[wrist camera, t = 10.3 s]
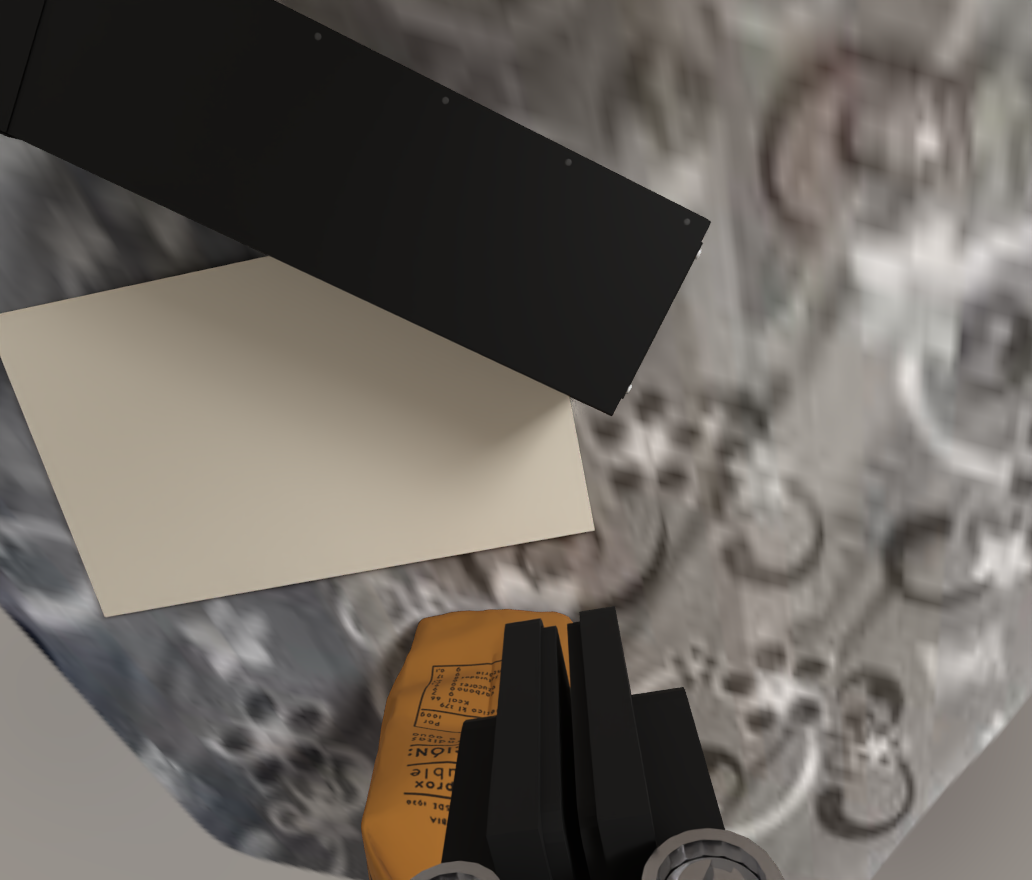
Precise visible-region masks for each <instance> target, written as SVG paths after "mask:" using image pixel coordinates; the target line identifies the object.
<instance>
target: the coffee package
mask: <svg viewBox="0 0 1032 880" xmlns="http://www.w3.org/2000/svg"><path fill="white" fill-rule="evenodd" d="M538 618H541V619H542V622H543V625H544V627H549V626H557V629H558V633H559V638H560V642H561V647H562V652H563V656H564V661H565V666H566V670H567V675H568V680H569V684H570V671H569V653H568V635H567V624H568V623H573V622H572V621H571V619H570V618H569V617H567V616H565V615H563V614H560V613H557V612H532V611H523V610H512V609H502V610H484V611H458V612H450V613H447V614H443V615H438V616H433V617H428V618H424V619H422V620H421V621H420V622H419V624H418V627H417V630H416V633H415V637H414V641H413V643H412V647H411V650H410V652H409V654H408V655H407V658H406V660H405V663H404V665H403V667H402V669H401V671H400V673H399V675H398V676H397V678H396V680H395V682H394V685H393V687H392V689H391V691H390V694H389V696H388V698H387V701H386V706H385V711H384V716H383V721H382V727H381V734H380V741H379V748H378V753H377V757H376V760H375V765H374V769H373V774H372V779H371V783H370V788H369V792H368V797H367V801H366V806H365V810H364V814H363V818H362V822H361V830H362V838H363V843H364V849H365V853H366V858H367V867H368V874H369V880H410V879H411V878H413V877H414V876H416V875H417V874H419V873H420V872H421V871H423V870H426V869H428V868H431V867H433V866H436V865H438V864H441V860H442V853H443V847H444V840H445V833H446V827H447V820H448V814H449V807H450V801H451V794H452V787H453V781H454V774H455V768H456V761H457V755H458V748H459V741H460V735H461V729H462V725H463V722H464V721H465V720H468V719H474V718H481V717H488V716H494V715H497V707H498V695H499V684H500V673H501V662H502V650H503V639H504V628H505V624H507V623H513V622H519V621H526V620H532V619H538Z"/></svg>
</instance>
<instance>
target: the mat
mask: <svg viewBox="0 0 1032 880" xmlns="http://www.w3.org/2000/svg"><path fill="white" fill-rule="evenodd" d="M0 357H1V359H2V362H3V364H4V367H5V369H6V372H7V374H8V377H9V379H10V382H11V384H12V387H13V389H14V392H15V394H16V397H17V399H18V402H19V404H20V407H21V409H22V412H23V414H24V417H25V419H26V422H27V424H28V427H29V429H30V432H31V434H32V437H33V439H34V442H35V444H36V447H37V449H38V452H39V454H40V457H41V459H42V461H43V464H44V466H45V469H46V471H47V474H48V476H49V479H50V481H51V484H52V486H53V489H54V491H55V494H56V496H57V499H58V501H59V504H60V506H61V509H62V511H63V514H64V516H65V519H66V521H67V524H68V526H69V529H70V531H71V534H72V536H73V539H74V541H75V544H76V546H77V549H78V551H79V554H80V556H81V559H82V561H83V564H84V566H85V569H86V571H87V574H88V576H89V579H90V581H91V584H92V586H93V589H94V591H95V594H96V596H97V599H98V601H99V604H100V606H101V608H102V611H103V613H104V616H105V617H110V616H115V615H121V614H127V613H132V612H138V611H144V610H149V609H155V608H160V607H166V606H172V605H177V604H183V603H189V602H194V601H200V600H205V599H211V598H217V597H222V596H228V595H234V594H239V593H245V592H250V591H256V590H262V589H267V588H273V587H279V586H284V585H290V584H296V583H301V582H307V581H312V580H318V579H324V578H329V577H335V576H341V575H346V574H352V573H357V572H363V571H369V570H374V569H380V568H386V567H391V566H397V565H402V564H408V563H414V562H419V561H425V560H431V559H436V558H442V557H448V556H453V555H459V554H464V553H470V552H476V551H481V550H487V549H493V548H498V547H504V546H509V545H515V544H521V543H526V542H532V541H538V540H543V539H549V538H555V537H560V536H566V535H571V534H577V533H583V532H588V531H594V530H595V529H594V524H593V519H592V513H591V508H590V503H589V498H588V492H587V487H586V482H585V476H584V471H583V466H582V461H581V455H580V450H579V445H578V439H577V434H576V429H575V424H574V418H573V413H572V408H571V402H570V397H569V396H567V395H565V394H563V393H561V392H559V391H557V390H555V389H552V388H550V387H548V386H546V385H544V384H542V383H540V382H537V381H535V380H533V379H531V378H529V377H527V376H525V375H522V374H520V373H518V372H516V371H514V370H512V369H510V368H508V367H505V366H503V365H501V364H499V363H497V362H495V361H493V360H490V359H488V358H486V357H484V356H482V355H480V354H478V353H475V352H473V351H471V350H469V349H467V348H465V347H463V346H461V345H458V344H456V343H454V342H452V341H450V340H448V339H446V338H443V337H441V336H439V335H437V334H435V333H433V332H431V331H428V330H426V329H424V328H422V327H420V326H418V325H416V324H414V323H411V322H409V321H407V320H405V319H403V318H401V317H399V316H396V315H394V314H392V313H390V312H388V311H386V310H384V309H381V308H379V307H377V306H375V305H373V304H371V303H369V302H367V301H364V300H362V299H360V298H358V297H356V296H354V295H352V294H349V293H347V292H345V291H343V290H341V289H339V288H337V287H334V286H332V285H330V284H328V283H326V282H324V281H322V280H320V279H317V278H315V277H313V276H311V275H309V274H307V273H305V272H302V271H300V270H298V269H296V268H294V267H292V266H290V265H287V264H285V263H283V262H281V261H279V260H277V259H275V258H273V257H270V256H266V257H262V258H257V259H252V260H248V261H243V262H238V263H234V264H229V265H224V266H220V267H215V268H210V269H206V270H201V271H196V272H192V273H187V274H182V275H178V276H173V277H168V278H164V279H159V280H154V281H150V282H145V283H140V284H136V285H131V286H127V287H122V288H117V289H113V290H108V291H103V292H99V293H94V294H89V295H85V296H80V297H75V298H71V299H66V300H61V301H57V302H52V303H47V304H43V305H38V306H33V307H29V308H24V309H19V310H15V311H10V312H5V313H1V314H0Z"/></svg>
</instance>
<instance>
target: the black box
mask: <svg viewBox="0 0 1032 880" xmlns="http://www.w3.org/2000/svg"><path fill="white" fill-rule="evenodd" d="M0 134H2V135H5V136H7V137H11V138H15V139H19V140H23V141H25V142H27V143H29V144H31V145H33V146H35V147H37V148H40V149H42V150H44V151H46V152H48V153H50V154H52V155H55V156H57V157H59V158H61V159H63V160H65V161H67V162H70V163H72V164H74V165H76V166H78V167H80V168H82V169H84V170H87V171H89V172H91V173H93V174H95V175H97V176H99V177H102V178H104V179H106V180H108V181H110V182H112V183H114V184H117V185H119V186H121V187H123V188H125V189H127V190H129V191H131V192H134V193H136V194H138V195H140V196H142V197H144V198H146V199H149V200H151V201H153V202H155V203H157V204H159V205H161V206H164V207H166V208H168V209H170V210H172V211H174V212H176V213H178V214H181V215H183V216H185V217H187V218H189V219H191V220H193V221H196V222H198V223H200V224H202V225H204V226H206V227H208V228H211V229H213V230H215V231H217V232H219V233H221V234H223V235H226V236H228V237H230V238H232V239H234V240H236V241H238V242H240V243H243V244H245V245H247V246H249V247H251V248H253V249H255V250H258V251H260V252H262V253H264V254H266V255H268V256H270V257H273V258H275V259H277V260H279V261H281V262H283V263H285V264H287V265H290V266H292V267H294V268H296V269H298V270H300V271H302V272H305V273H307V274H309V275H311V276H313V277H315V278H317V279H320V280H322V281H324V282H326V283H328V284H330V285H332V286H334V287H337V288H339V289H341V290H343V291H345V292H347V293H349V294H352V295H354V296H356V297H358V298H360V299H362V300H364V301H367V302H369V303H371V304H373V305H375V306H377V307H379V308H381V309H384V310H386V311H388V312H390V313H392V314H394V315H396V316H399V317H401V318H403V319H405V320H407V321H409V322H411V323H414V324H416V325H418V326H420V327H422V328H424V329H426V330H428V331H431V332H433V333H435V334H437V335H439V336H441V337H443V338H446V339H448V340H450V341H452V342H454V343H456V344H458V345H461V346H463V347H465V348H467V349H469V350H471V351H473V352H475V353H478V354H480V355H482V356H484V357H486V358H488V359H490V360H493V361H495V362H497V363H499V364H501V365H503V366H505V367H508V368H510V369H512V370H514V371H516V372H518V373H520V374H522V375H525V376H527V377H529V378H531V379H533V380H535V381H537V382H540V383H542V384H544V385H546V386H548V387H550V388H552V389H555V390H557V391H559V392H561V393H563V394H565V395H567V396H569V397H572V398H574V399H576V400H578V401H580V402H582V403H584V404H587V405H589V406H591V407H593V408H595V409H597V410H599V411H602V412H604V413H606V414H608V415H610V416H612V415H613V413H614V411H615V409H616V407H617V405H618V404H619V402H620V400H621V398H622V399H623V398H624V396H625V394H628V393H629V391H630V389H631V387H632V385H630V384H631V382H632V380H633V379H634V377H635V375H636V373H637V371H638V369H639V367H640V365H641V363H642V361H643V359H644V357H645V355H646V353H647V351H648V349H649V347H650V345H651V343H652V341H653V339H654V338H655V336H656V334H657V332H658V330H659V328H660V326H661V324H662V322H663V320H664V318H665V316H666V314H667V312H668V310H669V308H670V306H671V304H672V302H673V300H674V299H675V297H676V295H677V293H678V291H679V289H680V287H681V285H682V283H683V281H684V279H685V277H686V275H687V273H688V271H689V269H690V267H691V265H692V263H693V261H694V259H697V258H698V257H699V255H700V253H701V249H700V248H701V246H702V244H703V243H702V242H701V241H702V239H703V237H704V235H705V234H706V232H707V230H708V228H709V225H710V223H711V221H709V220H708V219H706V218H704V217H702V216H700V215H698V214H696V213H694V212H692V211H690V210H688V209H686V208H684V207H683V206H681V205H679V204H677V203H675V202H673V201H671V200H669V199H667V198H665V197H663V196H661V195H659V194H657V193H655V192H653V191H651V190H649V189H647V188H645V187H643V186H641V185H638V184H636V183H634V182H633V181H631V180H629V179H627V178H625V177H623V176H621V175H619V174H617V173H615V172H613V171H611V170H609V169H607V168H605V167H603V166H601V165H599V164H597V163H595V162H593V161H591V160H589V159H587V158H585V157H583V156H581V155H579V154H577V153H575V152H574V151H572V150H570V149H568V148H566V147H564V146H562V145H560V144H558V143H556V142H554V141H552V140H550V139H548V138H546V137H544V136H542V135H540V134H538V133H536V132H534V131H532V130H530V129H527V128H525V127H523V126H522V125H520V124H518V123H516V122H514V121H512V120H510V119H508V118H506V117H504V116H502V115H500V114H498V113H496V112H494V111H492V110H490V109H488V108H486V107H484V106H482V105H480V104H478V103H476V102H474V101H472V100H470V99H468V98H466V97H464V96H463V95H461V94H459V93H457V92H455V91H453V90H451V89H449V88H447V87H445V86H443V85H441V84H439V83H437V82H435V81H433V80H431V79H429V78H427V77H425V76H423V75H421V74H419V73H416V72H414V71H412V70H411V69H409V68H407V67H405V66H403V65H401V64H399V63H397V62H395V61H393V60H391V59H389V58H387V57H385V56H383V55H381V54H379V53H377V52H375V51H373V50H371V49H369V48H367V47H365V46H363V45H361V44H359V43H357V42H355V41H354V40H352V39H350V38H348V37H346V36H344V35H342V34H340V33H338V32H336V31H334V30H332V29H330V28H328V27H326V26H324V25H322V24H320V23H318V22H316V21H314V20H312V19H310V18H308V17H305V16H303V15H301V14H300V13H298V12H296V11H294V10H292V9H290V8H288V7H286V6H284V5H282V4H280V3H278V2H276V1H274V0H0Z"/></svg>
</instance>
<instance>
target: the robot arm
mask: <svg viewBox="0 0 1032 880" xmlns="http://www.w3.org/2000/svg"><path fill="white" fill-rule="evenodd" d="M579 613H580V622H574V623H568V624H567V635H568V653H569V671H570V684H569V680H568V675H567V670H566V666H565V661H564V656H563V652H562V647H561V642H560V638H559V633H558V629H557V626H549V627H544V625H543V622H542V619H541V618H538V619H532V620H526V621H519V622H513V623H507V624H505V628H504V639H503V650H502V662H501V673H500V684H499V695H498V707H497V715H494V716H488V717H481V718H474V719H468V720H465V721H464V722H463V725H462V729H461V735H460V741H459V748H458V755H457V761H456V768H455V774H454V781H453V787H452V794H451V801H450V807H449V814H448V820H447V827H446V833H445V840H444V847H443V853H442V860H441V864H438V865H436V866H433V867H431V868H428V869H426V870H423V871H421V872H420V873H419V874H417V875H416V876H414V877H413V878H411V879H410V880H784V878H783V876H782V874H781V872H780V870H779V868H778V867H777V865H776V864H775V863H774V861H773V860H772V859H771V857H770V856H769V855H768V854H767V852H766V851H765V850H764V849H762V848H761V847H760V846H758V845H757V844H756V843H754V842H753V841H751V840H750V839H749V838H746V837H744V836H741V835H739V834H736V833H734V832H731V831H728V830H725V828H724V825H723V821H722V818H721V814H720V811H719V807H718V804H717V800H716V797H715V793H714V790H713V786H712V783H711V779H710V776H709V772H708V769H707V765H706V761H705V758H704V754H703V751H702V747H701V744H700V740H699V737H698V733H697V730H696V726H695V723H694V719H693V716H692V712H691V709H690V705H689V702H688V698H687V695H686V692H685V689H684V687H681V688H674V689H667V690H661V691H654V692H647V693H641V694H634V695H631V690H630V684H629V679H628V674H627V668H626V663H625V658H624V652H623V647H622V642H621V636H620V631H619V626H618V620H617V615H616V610H615V606H612V607H606V608H600V609H594V610H587V611H581V612H579Z"/></svg>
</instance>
